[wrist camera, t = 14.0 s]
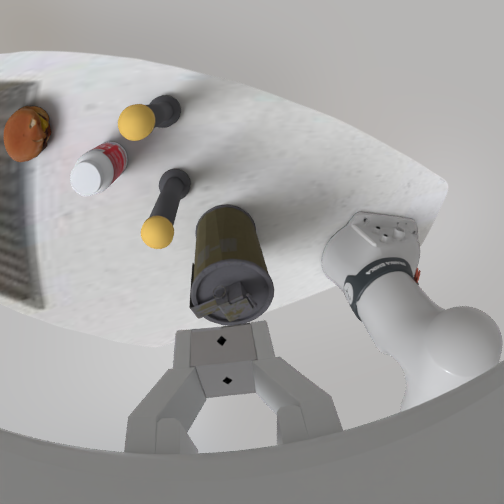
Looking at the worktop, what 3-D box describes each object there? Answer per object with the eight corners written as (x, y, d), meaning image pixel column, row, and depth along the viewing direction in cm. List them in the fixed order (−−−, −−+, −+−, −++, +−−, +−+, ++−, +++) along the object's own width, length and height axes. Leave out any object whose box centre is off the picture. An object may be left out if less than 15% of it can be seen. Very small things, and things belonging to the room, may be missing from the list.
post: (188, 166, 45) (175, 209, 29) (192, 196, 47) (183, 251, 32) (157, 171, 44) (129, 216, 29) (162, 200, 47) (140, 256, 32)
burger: (6, 139, 36) (-9, 145, 32) (28, 96, 33) (13, 98, 29) (38, 168, 40) (25, 176, 36) (62, 124, 37) (49, 129, 33)
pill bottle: (120, 135, 40) (95, 148, 31) (133, 169, 43) (113, 192, 34) (88, 150, 40) (58, 168, 31) (101, 182, 44) (76, 208, 34)
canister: (240, 194, 48) (257, 258, 31) (264, 243, 53) (290, 320, 36) (182, 222, 49) (169, 298, 32) (211, 267, 55) (213, 350, 38)
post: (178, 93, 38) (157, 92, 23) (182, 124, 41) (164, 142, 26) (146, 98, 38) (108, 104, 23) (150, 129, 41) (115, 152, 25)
